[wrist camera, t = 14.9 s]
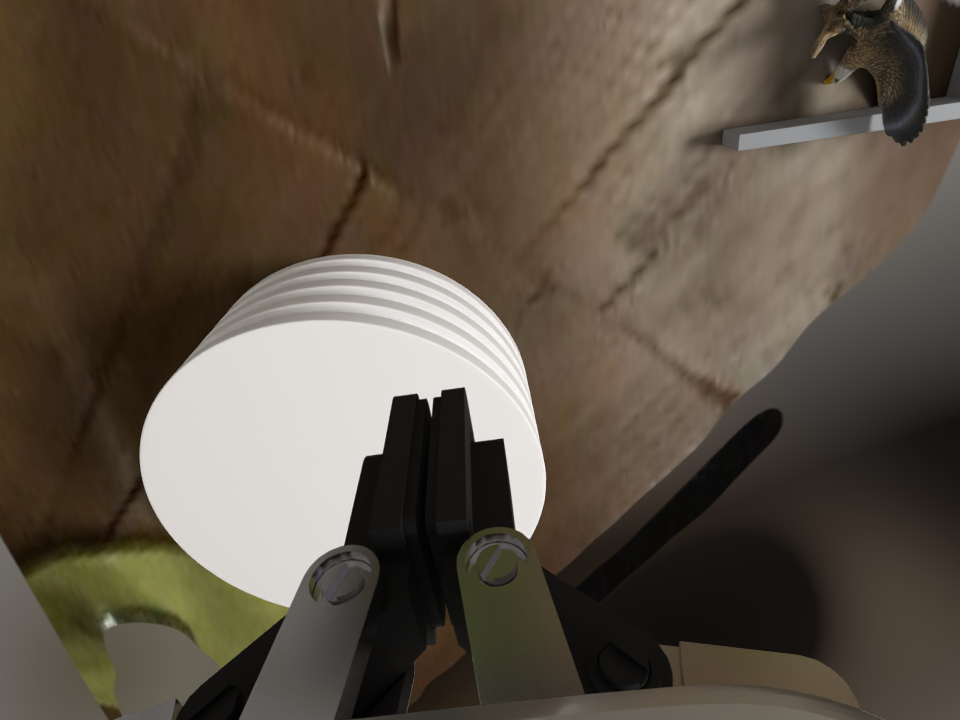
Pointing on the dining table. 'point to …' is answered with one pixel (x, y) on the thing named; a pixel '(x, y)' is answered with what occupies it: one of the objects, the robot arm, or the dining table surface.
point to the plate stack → (322, 411)
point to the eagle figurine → (885, 59)
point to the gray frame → (836, 122)
